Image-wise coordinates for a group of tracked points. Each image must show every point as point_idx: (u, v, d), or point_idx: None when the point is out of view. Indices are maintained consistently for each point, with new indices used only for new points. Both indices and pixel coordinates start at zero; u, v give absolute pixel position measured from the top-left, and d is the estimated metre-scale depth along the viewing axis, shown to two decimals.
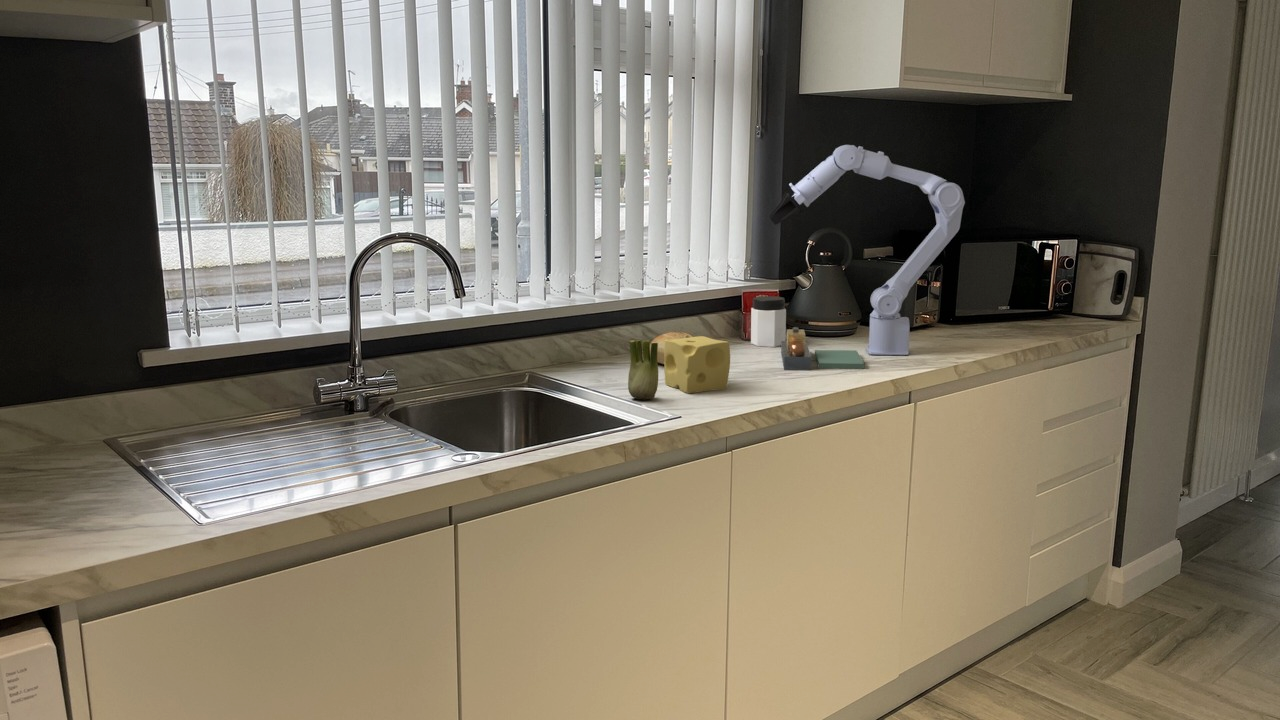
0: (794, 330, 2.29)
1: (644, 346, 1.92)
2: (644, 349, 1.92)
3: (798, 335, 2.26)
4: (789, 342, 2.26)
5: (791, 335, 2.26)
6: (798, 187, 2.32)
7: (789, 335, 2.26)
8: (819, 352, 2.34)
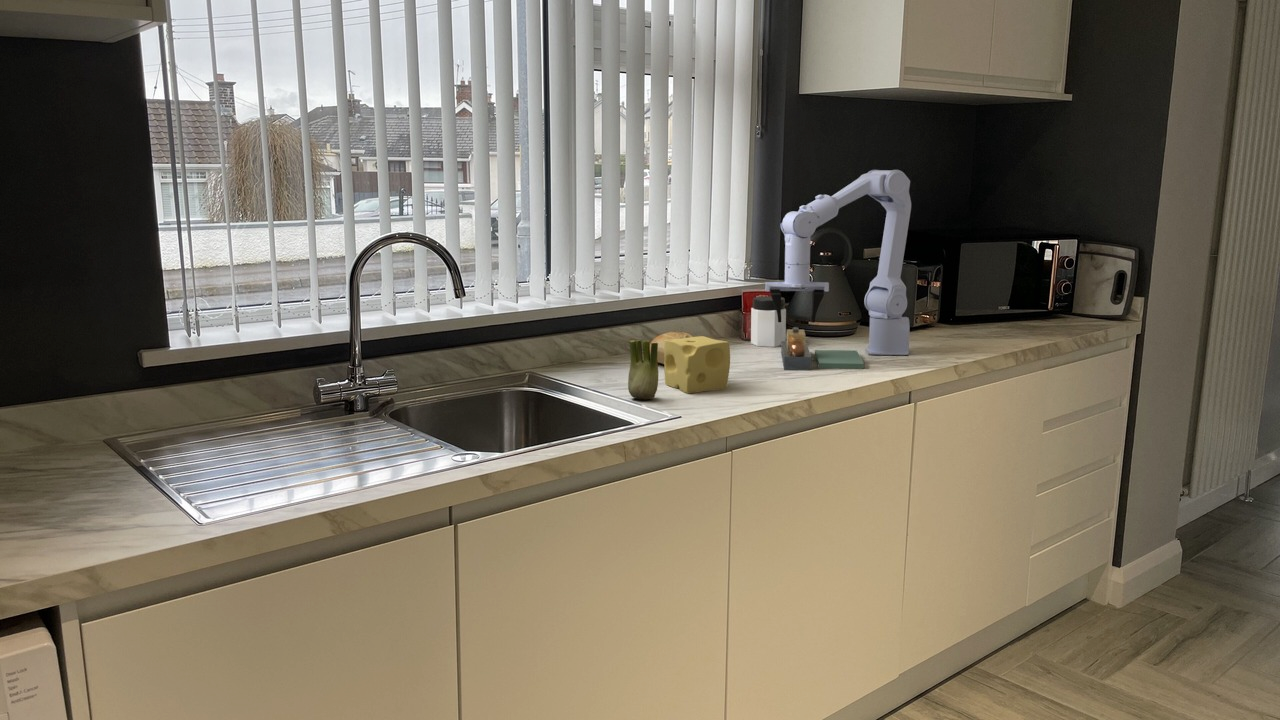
0: (794, 330, 2.29)
1: (644, 346, 1.92)
2: (644, 349, 1.92)
3: (798, 335, 2.26)
4: (789, 342, 2.26)
5: (791, 335, 2.26)
6: (805, 281, 2.24)
7: (789, 335, 2.26)
8: (819, 352, 2.34)
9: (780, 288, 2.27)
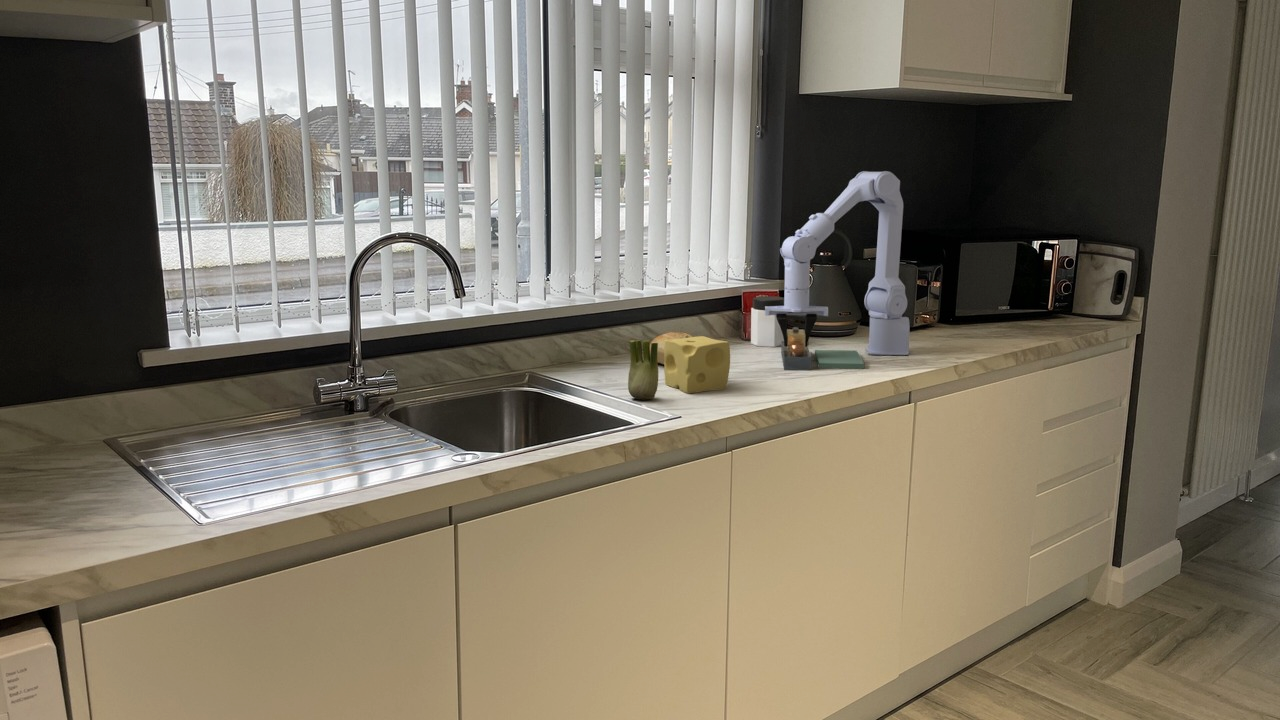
0: (794, 330, 2.29)
1: (644, 346, 1.92)
2: (644, 349, 1.92)
3: (798, 335, 2.26)
4: (789, 342, 2.26)
5: (791, 335, 2.26)
6: (805, 306, 2.25)
7: (789, 335, 2.26)
8: (819, 352, 2.34)
9: (780, 312, 2.28)
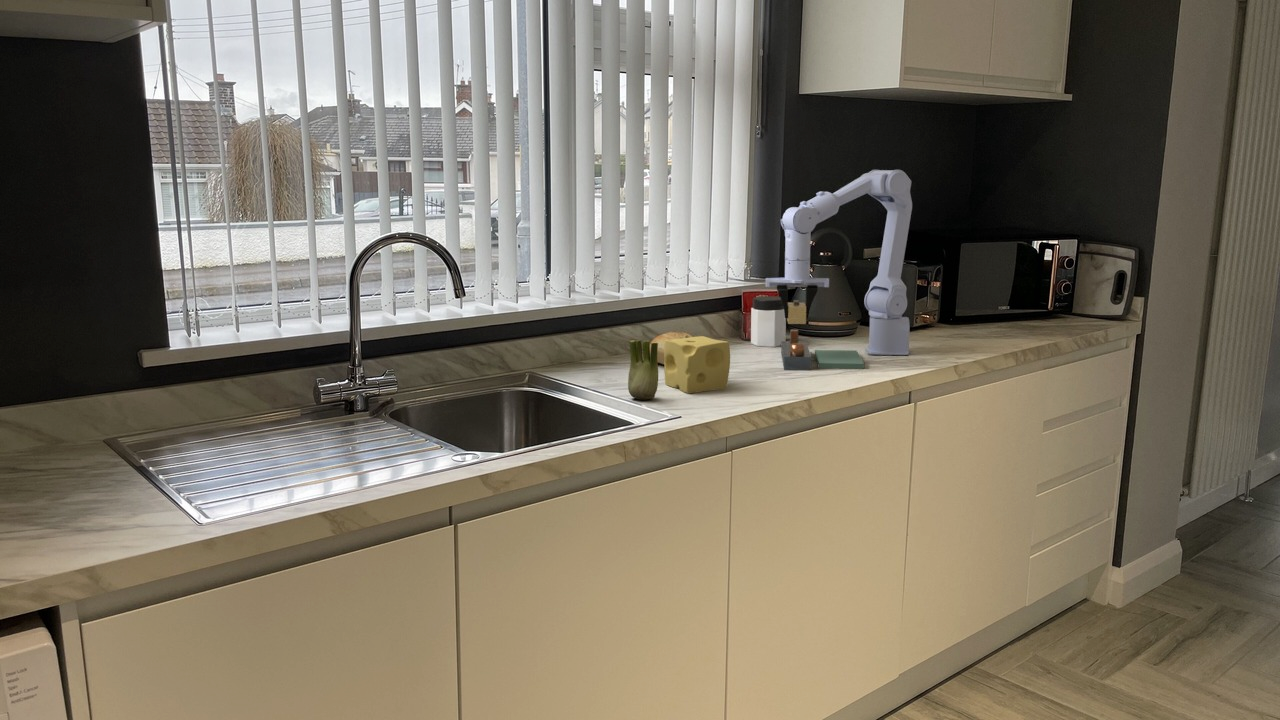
0: (795, 303, 2.28)
1: (644, 346, 1.92)
2: (644, 349, 1.92)
3: (799, 307, 2.24)
4: (790, 314, 2.25)
5: (792, 307, 2.24)
6: (806, 277, 2.24)
7: (790, 307, 2.24)
8: (819, 352, 2.34)
9: (780, 284, 2.27)
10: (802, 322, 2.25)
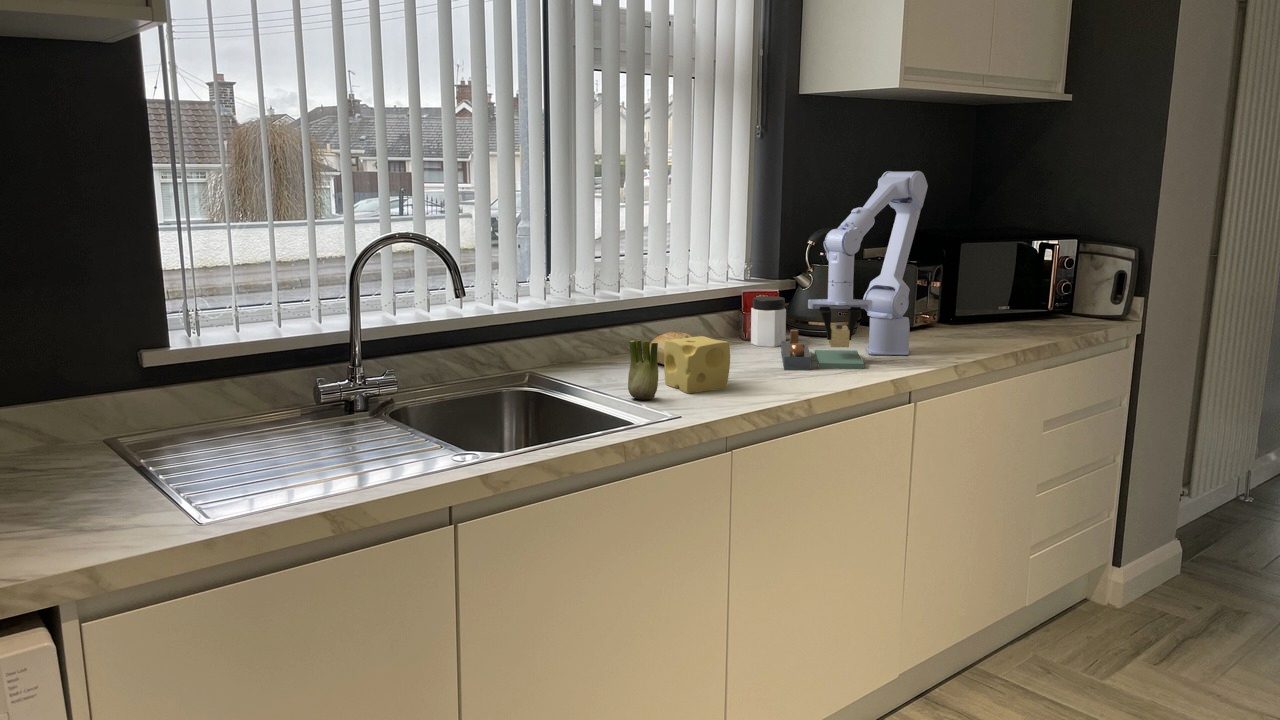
0: (837, 326, 2.28)
1: (644, 346, 1.92)
2: (644, 349, 1.92)
3: (842, 331, 2.24)
4: (833, 338, 2.25)
5: (835, 331, 2.24)
6: (849, 299, 2.24)
7: (833, 331, 2.24)
8: (819, 352, 2.34)
9: (823, 306, 2.27)
10: (845, 345, 2.25)
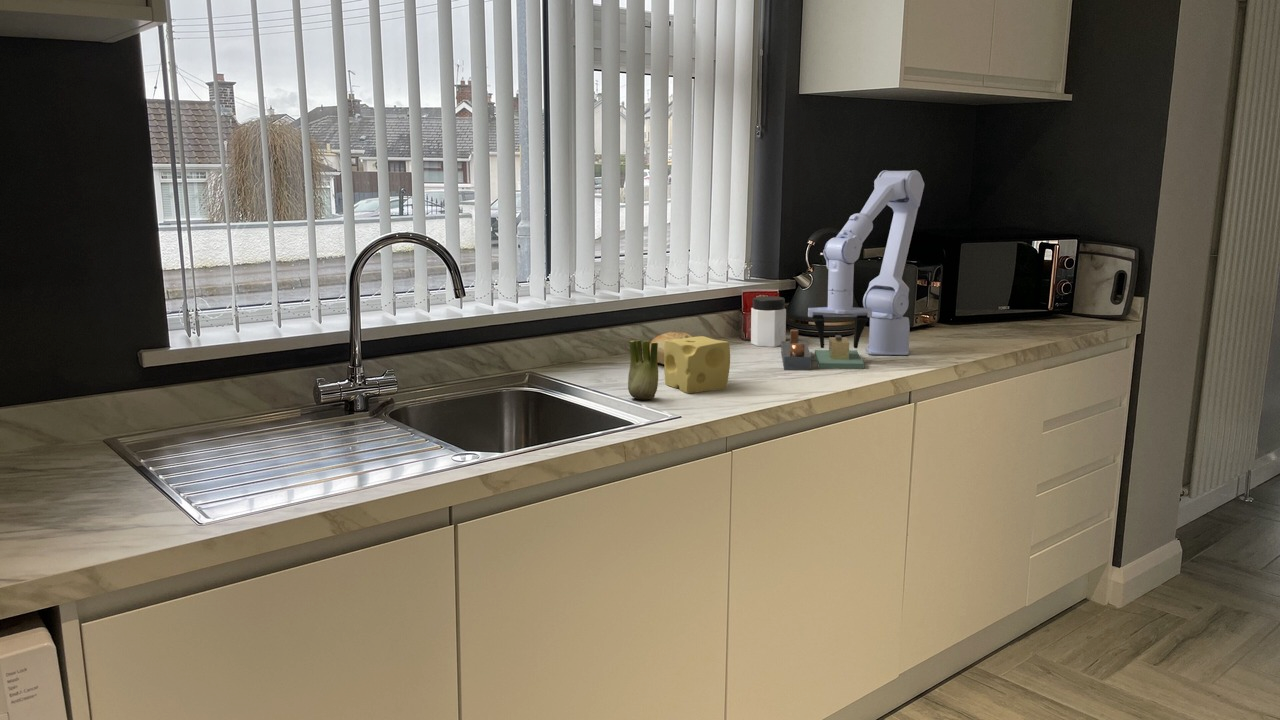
0: (837, 338, 2.28)
1: (644, 346, 1.92)
2: (644, 349, 1.92)
3: (842, 343, 2.25)
4: (833, 350, 2.25)
5: (835, 343, 2.25)
6: (849, 307, 2.24)
7: (833, 343, 2.25)
8: (819, 352, 2.34)
9: (823, 314, 2.27)
10: (845, 358, 2.25)
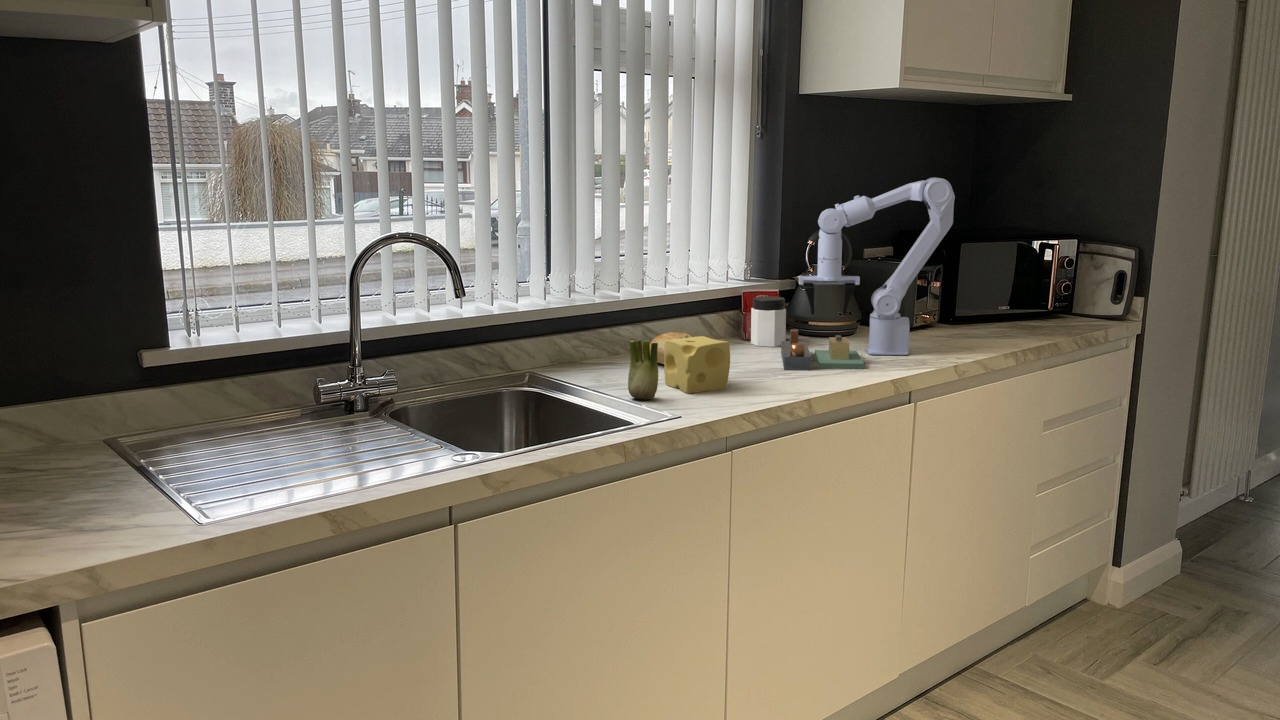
0: (837, 338, 2.28)
1: (644, 346, 1.92)
2: (644, 349, 1.92)
3: (842, 343, 2.25)
4: (833, 350, 2.25)
5: (835, 343, 2.25)
6: (838, 275, 2.36)
7: (833, 343, 2.25)
8: (819, 352, 2.34)
9: (813, 282, 2.38)
10: (845, 358, 2.25)
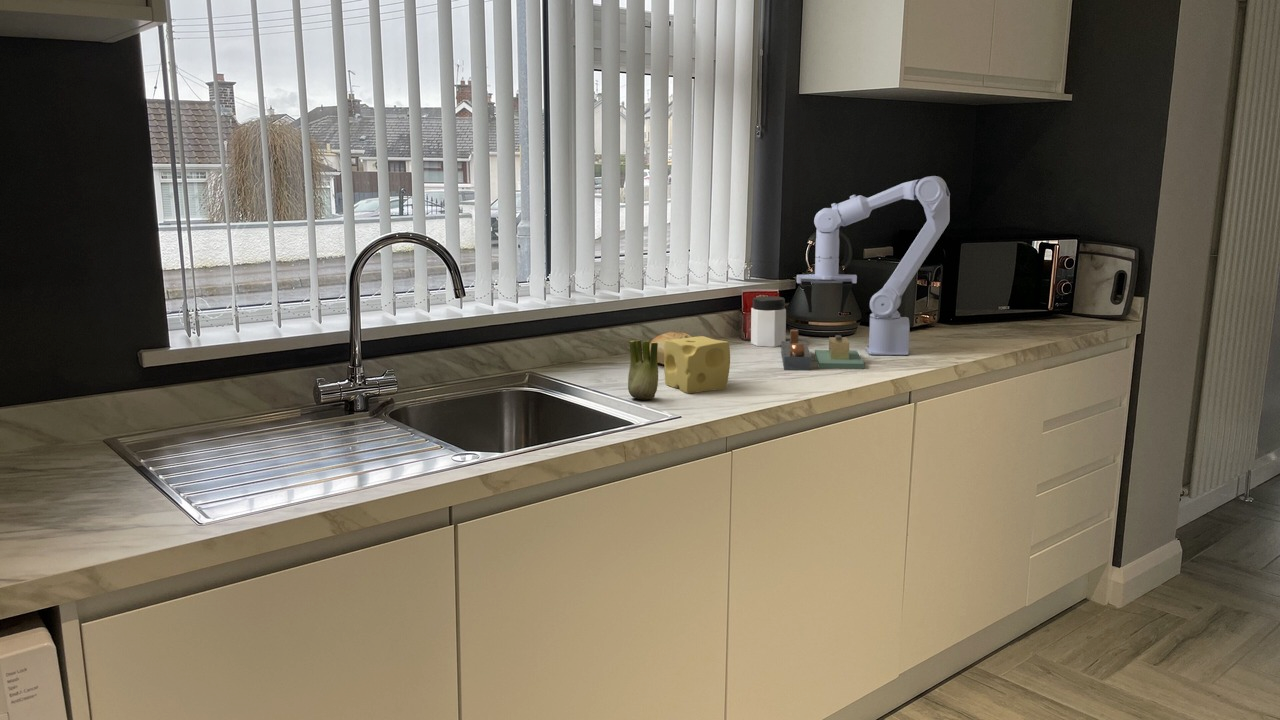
0: (837, 338, 2.28)
1: (644, 346, 1.92)
2: (644, 349, 1.92)
3: (842, 343, 2.25)
4: (833, 350, 2.25)
5: (835, 343, 2.25)
6: (835, 273, 2.39)
7: (833, 343, 2.25)
8: (819, 352, 2.34)
9: (811, 280, 2.42)
10: (845, 358, 2.25)
